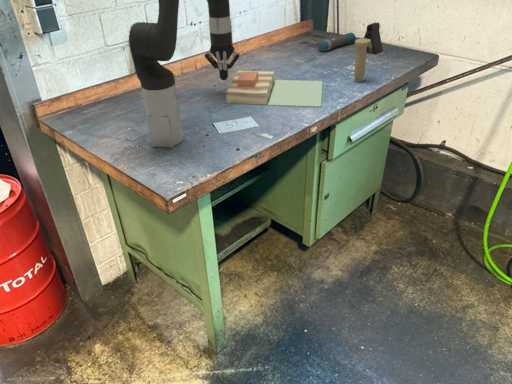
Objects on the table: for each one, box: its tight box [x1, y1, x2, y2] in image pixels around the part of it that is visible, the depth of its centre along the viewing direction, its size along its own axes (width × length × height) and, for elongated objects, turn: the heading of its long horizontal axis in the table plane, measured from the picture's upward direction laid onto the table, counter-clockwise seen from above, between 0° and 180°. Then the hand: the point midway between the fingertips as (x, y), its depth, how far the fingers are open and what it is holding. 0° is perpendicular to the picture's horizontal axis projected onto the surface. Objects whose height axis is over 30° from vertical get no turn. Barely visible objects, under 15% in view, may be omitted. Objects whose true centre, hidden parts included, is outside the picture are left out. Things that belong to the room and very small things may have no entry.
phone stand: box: [363, 21, 383, 55], centre depth 190 cm, size 9×6×12 cm, turn 47°
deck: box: [225, 70, 275, 105], centre depth 156 cm, size 22×14×4 cm, turn 171°
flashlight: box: [317, 32, 356, 53], centre depth 199 cm, size 5×22×5 cm, turn 130°
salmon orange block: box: [237, 70, 258, 87], centre depth 153 cm, size 9×6×2 cm, turn 171°
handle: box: [353, 37, 371, 83], centre depth 159 cm, size 5×6×15 cm
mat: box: [267, 79, 324, 108], centre depth 155 cm, size 24×18×1 cm
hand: (224, 79), depth 155 cm, fingers closed
